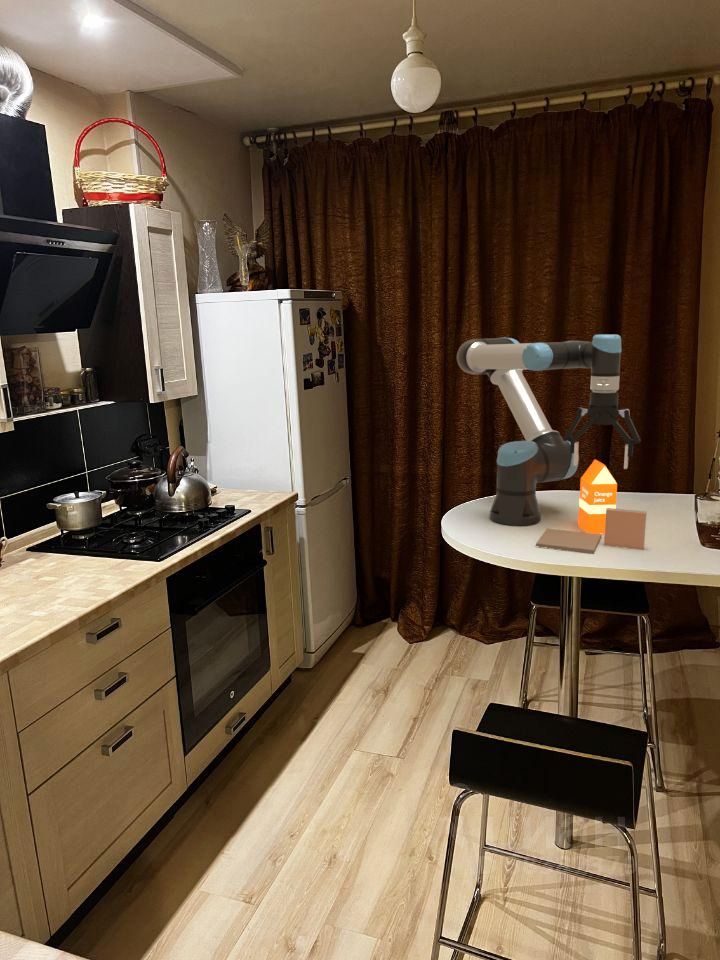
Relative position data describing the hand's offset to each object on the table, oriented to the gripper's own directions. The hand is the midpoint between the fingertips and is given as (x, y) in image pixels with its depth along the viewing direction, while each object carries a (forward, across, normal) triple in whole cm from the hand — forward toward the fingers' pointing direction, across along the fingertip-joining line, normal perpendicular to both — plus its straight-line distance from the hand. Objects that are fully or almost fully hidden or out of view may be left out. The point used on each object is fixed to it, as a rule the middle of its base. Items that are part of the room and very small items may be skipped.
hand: (600, 466), depth 206 cm
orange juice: (+19, 0, 0) cm, 19 cm away
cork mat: (+19, -5, -15) cm, 24 cm away
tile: (+14, +9, -13) cm, 21 cm away
